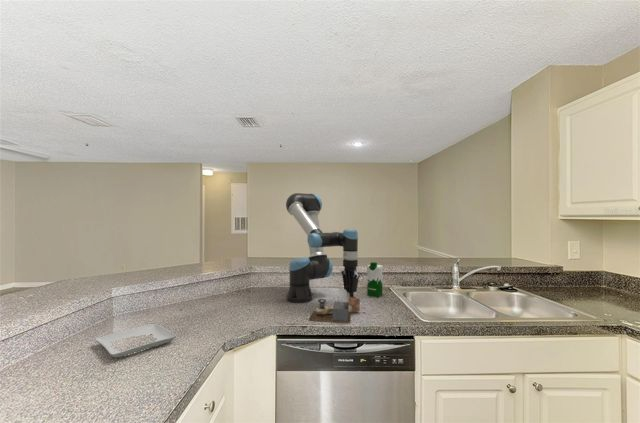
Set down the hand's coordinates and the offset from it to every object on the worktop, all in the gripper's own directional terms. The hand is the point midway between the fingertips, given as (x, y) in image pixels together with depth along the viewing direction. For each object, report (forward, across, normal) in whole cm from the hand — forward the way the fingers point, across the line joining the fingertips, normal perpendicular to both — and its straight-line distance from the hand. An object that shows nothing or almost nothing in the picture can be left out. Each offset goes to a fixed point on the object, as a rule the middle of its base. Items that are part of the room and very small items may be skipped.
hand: (350, 304), depth 150 cm
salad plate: (+3, -9, -94) cm, 94 cm away
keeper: (+2, +5, -15) cm, 16 cm away
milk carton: (+3, -14, +30) cm, 33 cm away
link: (+1, +2, -9) cm, 10 cm away
